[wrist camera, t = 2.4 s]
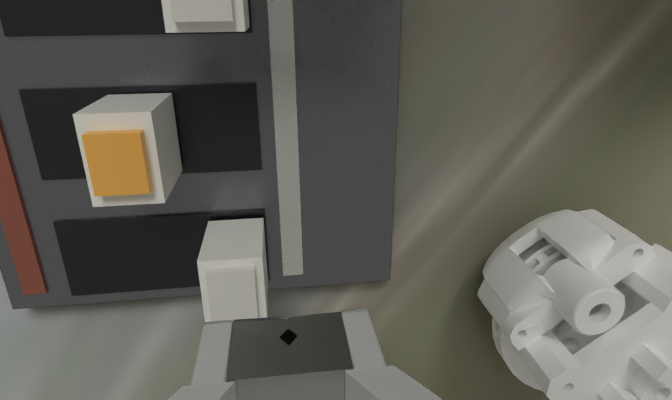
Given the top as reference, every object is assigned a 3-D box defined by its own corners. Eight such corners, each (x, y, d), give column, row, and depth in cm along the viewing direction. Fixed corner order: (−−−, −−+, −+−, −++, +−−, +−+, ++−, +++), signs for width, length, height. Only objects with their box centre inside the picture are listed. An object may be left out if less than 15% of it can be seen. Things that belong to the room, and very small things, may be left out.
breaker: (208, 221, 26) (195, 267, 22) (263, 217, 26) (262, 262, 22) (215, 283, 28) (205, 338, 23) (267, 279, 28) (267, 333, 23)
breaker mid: (107, 94, 23) (66, 117, 18) (171, 93, 23) (147, 114, 19) (122, 173, 25) (87, 212, 20) (182, 170, 25) (162, 208, 20)
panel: (-92, -92, 21) (-121, -100, 19) (397, -85, 23) (406, -92, 22) (25, 294, 29) (11, 311, 27) (384, 267, 31) (390, 281, 30)
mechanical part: (515, 364, 36) (621, 520, 25) (427, 261, 31) (510, 398, 20) (644, 275, 34) (819, 401, 23) (571, 154, 30) (745, 239, 19)
